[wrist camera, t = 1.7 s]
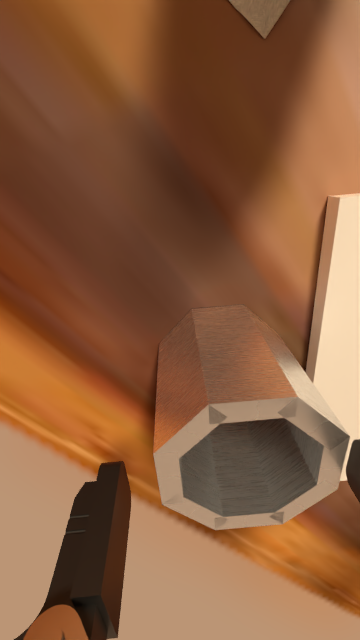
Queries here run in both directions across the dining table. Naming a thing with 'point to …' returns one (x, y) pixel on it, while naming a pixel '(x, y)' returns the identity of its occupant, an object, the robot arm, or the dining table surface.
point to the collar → (240, 424)
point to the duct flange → (338, 316)
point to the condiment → (261, 13)
